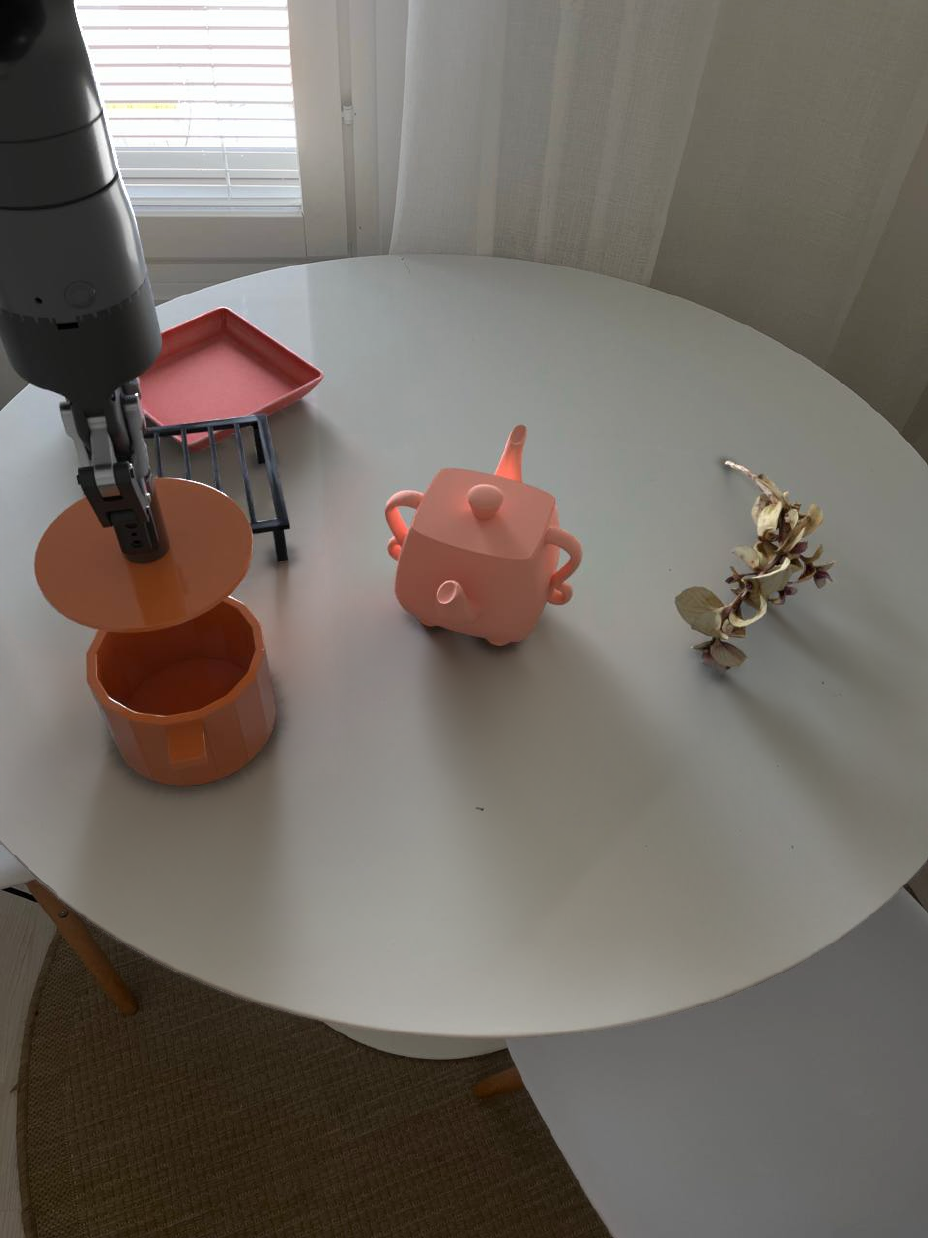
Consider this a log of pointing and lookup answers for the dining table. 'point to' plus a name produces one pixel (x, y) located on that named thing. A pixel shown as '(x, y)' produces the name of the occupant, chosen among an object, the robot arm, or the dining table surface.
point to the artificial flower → (727, 620)
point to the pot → (186, 695)
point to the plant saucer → (221, 375)
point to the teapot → (481, 550)
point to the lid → (146, 561)
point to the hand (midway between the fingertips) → (140, 528)
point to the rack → (263, 456)
